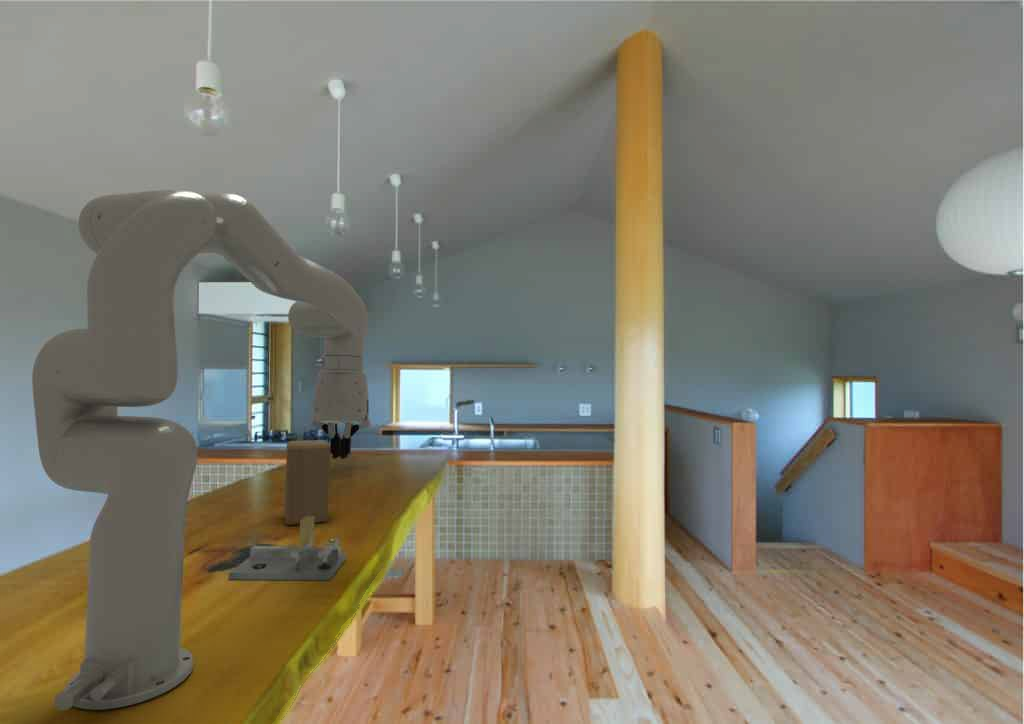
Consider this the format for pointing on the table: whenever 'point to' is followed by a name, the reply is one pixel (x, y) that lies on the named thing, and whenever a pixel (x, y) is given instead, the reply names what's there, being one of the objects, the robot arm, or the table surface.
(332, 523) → the table surface
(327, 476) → the wooden block
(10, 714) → the table surface
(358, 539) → the table surface
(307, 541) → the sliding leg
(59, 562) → the table surface
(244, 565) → the bolt plate
